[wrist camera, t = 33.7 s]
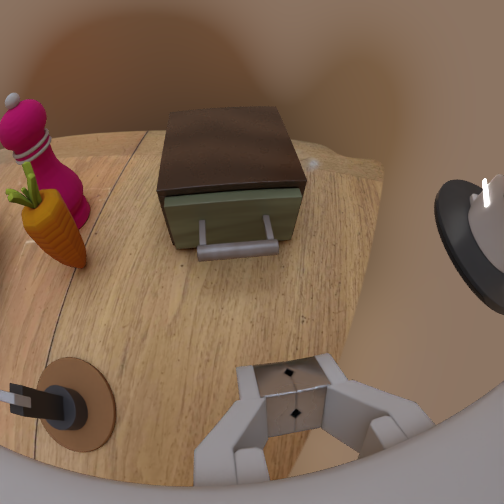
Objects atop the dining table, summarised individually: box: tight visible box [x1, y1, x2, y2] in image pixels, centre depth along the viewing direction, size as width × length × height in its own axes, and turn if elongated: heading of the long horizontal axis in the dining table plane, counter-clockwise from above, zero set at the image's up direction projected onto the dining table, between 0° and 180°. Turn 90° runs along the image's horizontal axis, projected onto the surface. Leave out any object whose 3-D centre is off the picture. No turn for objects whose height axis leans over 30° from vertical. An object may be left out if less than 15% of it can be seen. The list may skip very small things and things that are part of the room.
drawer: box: [164, 187, 302, 262], centre depth 29 cm, size 18×12×7 cm
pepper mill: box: [0, 93, 90, 229], centre depth 24 cm, size 7×7×20 cm
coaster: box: [37, 357, 116, 452], centre depth 20 cm, size 10×10×1 cm
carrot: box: [6, 161, 86, 268], centre depth 22 cm, size 5×5×15 cm
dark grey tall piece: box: [0, 383, 88, 430], centre depth 15 cm, size 4×4×10 cm
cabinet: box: [157, 107, 307, 245], centre depth 31 cm, size 15×14×9 cm
